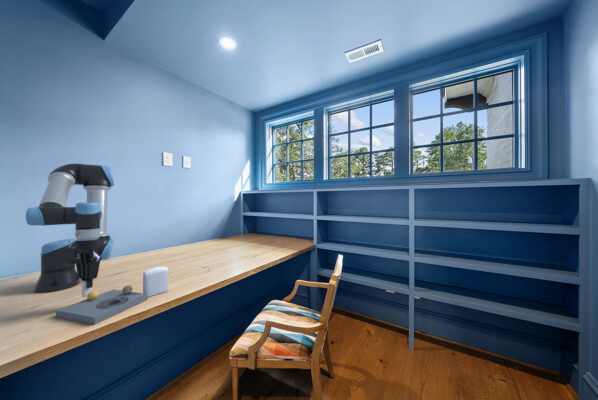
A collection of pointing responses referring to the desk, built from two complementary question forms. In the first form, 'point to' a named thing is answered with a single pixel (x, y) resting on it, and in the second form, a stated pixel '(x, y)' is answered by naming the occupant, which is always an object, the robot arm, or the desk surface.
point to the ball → (92, 295)
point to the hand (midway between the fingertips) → (87, 295)
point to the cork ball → (127, 289)
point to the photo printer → (155, 281)
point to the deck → (101, 306)
